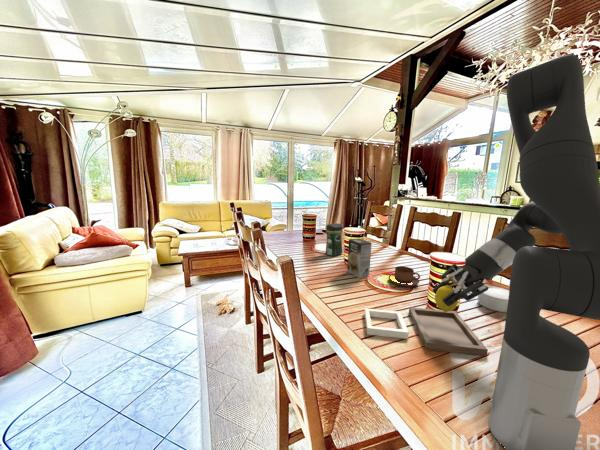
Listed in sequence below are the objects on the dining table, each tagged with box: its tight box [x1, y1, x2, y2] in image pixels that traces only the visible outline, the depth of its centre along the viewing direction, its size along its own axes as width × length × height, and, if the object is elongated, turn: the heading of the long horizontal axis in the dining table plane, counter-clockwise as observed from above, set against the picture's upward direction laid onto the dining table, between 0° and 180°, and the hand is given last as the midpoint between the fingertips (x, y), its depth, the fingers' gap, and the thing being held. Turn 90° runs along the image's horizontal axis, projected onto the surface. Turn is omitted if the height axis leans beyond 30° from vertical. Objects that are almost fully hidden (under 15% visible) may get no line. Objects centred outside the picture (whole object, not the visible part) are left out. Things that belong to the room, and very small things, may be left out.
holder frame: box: [364, 307, 410, 340], centre depth 73 cm, size 11×11×2 cm
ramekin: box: [477, 285, 509, 313], centre depth 84 cm, size 11×11×5 cm
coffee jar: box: [325, 222, 343, 257], centre depth 142 cm, size 10×8×19 cm
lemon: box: [434, 286, 459, 312], centre depth 68 cm, size 6×6×8 cm
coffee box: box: [347, 237, 372, 279], centre depth 112 cm, size 9×6×16 cm
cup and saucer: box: [388, 265, 421, 287], centre depth 103 cm, size 12×12×6 cm
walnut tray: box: [408, 306, 489, 357], centre depth 70 cm, size 18×14×2 cm
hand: (439, 298), depth 68 cm, fingers closed on lemon, 5 cm apart
